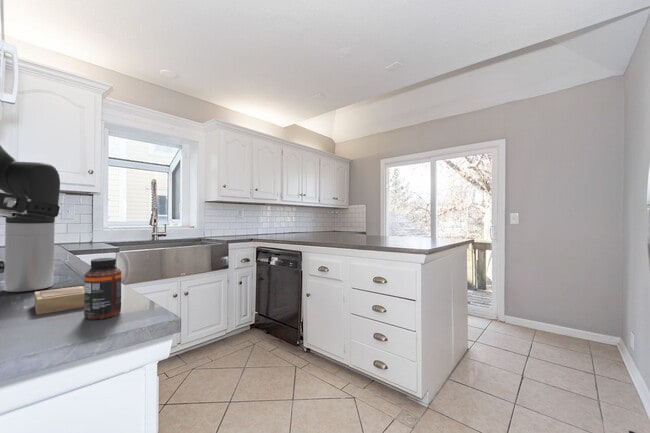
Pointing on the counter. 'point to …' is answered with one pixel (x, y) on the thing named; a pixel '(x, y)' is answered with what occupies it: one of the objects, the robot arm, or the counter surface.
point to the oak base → (59, 299)
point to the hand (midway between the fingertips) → (51, 213)
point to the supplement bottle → (102, 289)
